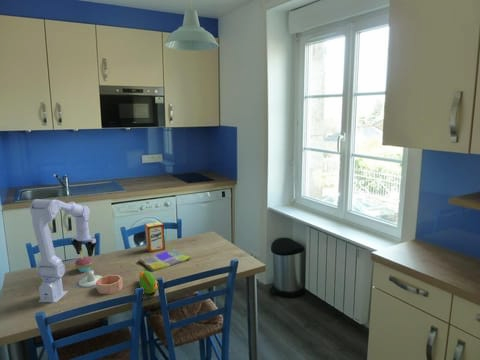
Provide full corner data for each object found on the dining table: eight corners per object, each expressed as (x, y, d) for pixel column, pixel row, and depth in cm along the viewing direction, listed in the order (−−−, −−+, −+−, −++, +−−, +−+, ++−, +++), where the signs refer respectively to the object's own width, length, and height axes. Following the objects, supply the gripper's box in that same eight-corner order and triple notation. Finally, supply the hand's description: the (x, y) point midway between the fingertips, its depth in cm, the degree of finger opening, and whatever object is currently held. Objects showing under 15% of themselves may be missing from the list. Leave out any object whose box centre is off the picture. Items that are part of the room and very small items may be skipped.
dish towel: (191, 261, 198) (191, 256, 198) (149, 273, 183) (149, 268, 183) (176, 251, 212) (176, 247, 211) (136, 262, 197) (136, 257, 197)
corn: (144, 282, 155) (132, 266, 172) (144, 299, 156) (132, 281, 173) (161, 279, 159) (148, 264, 176) (161, 295, 160) (148, 278, 177)
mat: (97, 288, 167) (97, 287, 167) (72, 288, 168) (72, 287, 168) (108, 277, 179) (108, 276, 178) (85, 276, 179) (85, 276, 179)
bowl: (116, 294, 161) (115, 285, 160) (93, 294, 162) (92, 285, 161) (125, 283, 171) (124, 275, 170) (104, 283, 172) (103, 274, 171)
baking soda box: (149, 252, 210) (147, 226, 207) (146, 249, 216) (144, 223, 213) (165, 249, 214) (163, 223, 211) (162, 246, 220) (160, 221, 217)
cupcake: (87, 274, 182) (84, 252, 180) (72, 273, 183) (69, 251, 181) (96, 267, 190) (94, 246, 188) (82, 266, 192) (80, 245, 189)
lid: (96, 287, 167) (95, 276, 166) (74, 286, 168) (73, 276, 167) (107, 276, 178) (106, 267, 177) (85, 276, 179) (84, 266, 178)
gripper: (99, 228, 180) (101, 254, 183) (78, 225, 186) (80, 250, 189) (88, 232, 174) (91, 259, 176) (67, 229, 180) (69, 254, 182)
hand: (85, 254), depth 182 cm, fingers open, 7 cm apart
